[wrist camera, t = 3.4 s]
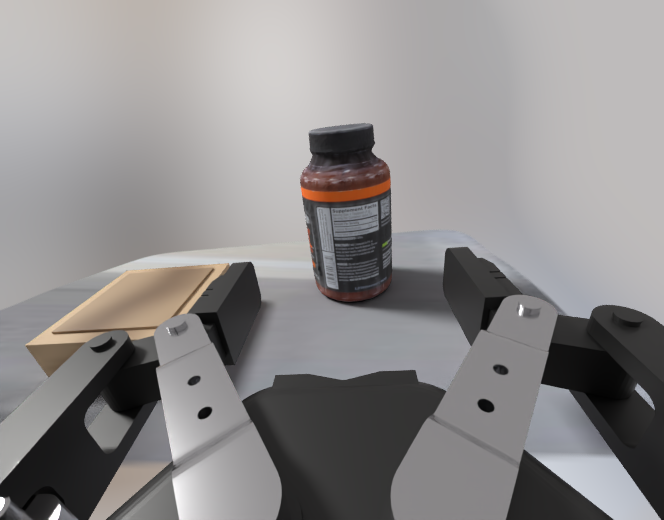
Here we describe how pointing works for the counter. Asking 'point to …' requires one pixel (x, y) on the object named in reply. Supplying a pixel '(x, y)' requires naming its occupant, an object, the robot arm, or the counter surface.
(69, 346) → the oak base
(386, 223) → the supplement bottle
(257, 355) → the counter surface
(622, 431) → the robot arm
